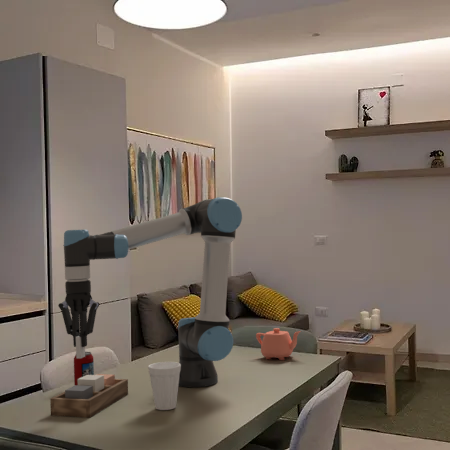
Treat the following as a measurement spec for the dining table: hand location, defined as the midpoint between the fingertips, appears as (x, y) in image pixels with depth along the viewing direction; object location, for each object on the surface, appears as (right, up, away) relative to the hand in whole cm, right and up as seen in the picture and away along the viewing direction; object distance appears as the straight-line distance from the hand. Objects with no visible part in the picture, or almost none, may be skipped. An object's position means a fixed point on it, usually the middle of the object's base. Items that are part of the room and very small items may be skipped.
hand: (80, 357), depth 187 cm
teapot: (+66, -15, +68) cm, 96 cm away
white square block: (+2, -12, +6) cm, 13 cm away
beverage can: (-5, -17, +28) cm, 33 cm away
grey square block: (0, -13, -1) cm, 13 cm away
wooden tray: (+2, -16, +6) cm, 17 cm away
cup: (+26, -15, -1) cm, 30 cm away
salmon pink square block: (+4, -13, +13) cm, 19 cm away
